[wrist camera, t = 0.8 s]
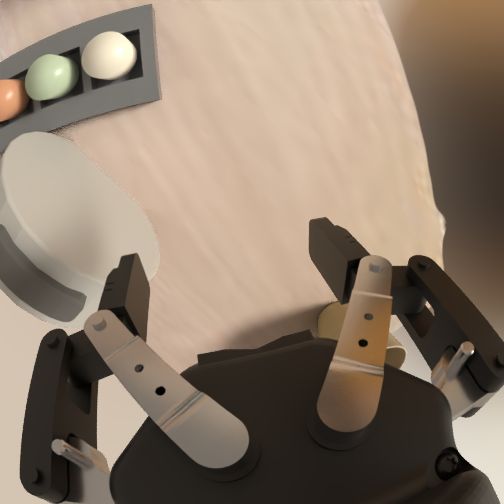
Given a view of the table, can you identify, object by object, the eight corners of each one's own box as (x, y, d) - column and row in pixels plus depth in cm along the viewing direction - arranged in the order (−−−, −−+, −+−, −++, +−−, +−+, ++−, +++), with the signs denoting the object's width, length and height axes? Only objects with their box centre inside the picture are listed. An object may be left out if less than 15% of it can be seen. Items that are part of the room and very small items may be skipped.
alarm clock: (25, 165, 27) (-67, 235, 11) (54, 122, 26) (-48, 164, 10) (130, 260, 39) (108, 375, 22) (164, 227, 37) (156, 339, 21)
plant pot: (361, 272, 50) (409, 331, 37) (368, 318, 58) (405, 372, 45) (289, 308, 50) (322, 380, 37) (308, 349, 59) (336, 410, 45)
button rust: (-1, 88, 19) (-20, 91, 15) (28, 72, 20) (9, 72, 16) (4, 123, 22) (-16, 129, 18) (32, 109, 22) (14, 113, 19)
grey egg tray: (-3, 71, 19) (-14, 71, 16) (154, 10, 22) (151, 3, 20) (7, 149, 25) (-4, 154, 23) (162, 99, 29) (159, 99, 26)
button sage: (41, 66, 20) (23, 65, 16) (77, 51, 21) (62, 47, 17) (45, 103, 23) (27, 107, 19) (81, 90, 23) (66, 90, 20)
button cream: (93, 46, 21) (80, 40, 17) (135, 34, 22) (128, 25, 18) (96, 85, 24) (83, 84, 20) (139, 74, 24) (131, 70, 21)
